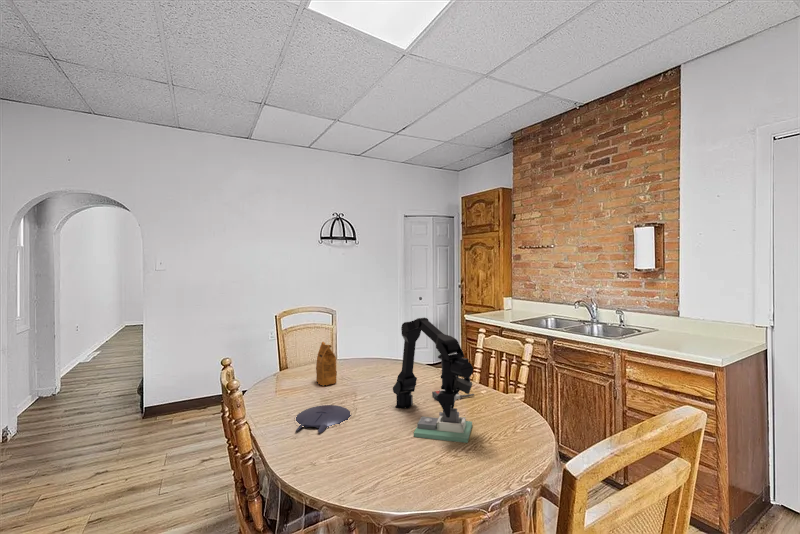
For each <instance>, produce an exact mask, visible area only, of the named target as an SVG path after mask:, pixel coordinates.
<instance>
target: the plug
mask: <svg viewBox="0 0 800 534" xmlns="http://www.w3.org/2000/svg"><path fill="white" fill-rule="evenodd" d="M438 413H439V416H440V415H441V416H443V422H449V423H459V417H460V412H459V411H458V408H456V407H455V408H451V412H450V417H449V418H448V417H446V415H445V413H444V411H443V410H442V412H441V411H439V412H438Z"/></svg>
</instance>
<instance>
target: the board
mask: <svg viewBox="0 0 800 534" xmlns="http://www.w3.org/2000/svg"><path fill="white" fill-rule="evenodd" d="M466 418H467V417H462V416H459V423H449V422H443V416H441V415H439V417H434V416H433V417H431V416H421V417H420V419H419V421H418V422H417V424H416V425H417V426H416V428H415V430H414V432H413V437H414V438H421V439H423V438H424V439H429V440H430V439H431V440H440V441H446V442H447V441H448V442H457V443H465V444H468V443H469V439H470V436H471V432H472V428H473V420H472V421H469V420H466Z"/></svg>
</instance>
